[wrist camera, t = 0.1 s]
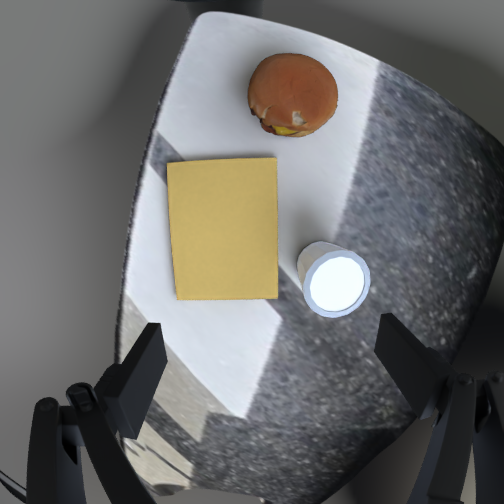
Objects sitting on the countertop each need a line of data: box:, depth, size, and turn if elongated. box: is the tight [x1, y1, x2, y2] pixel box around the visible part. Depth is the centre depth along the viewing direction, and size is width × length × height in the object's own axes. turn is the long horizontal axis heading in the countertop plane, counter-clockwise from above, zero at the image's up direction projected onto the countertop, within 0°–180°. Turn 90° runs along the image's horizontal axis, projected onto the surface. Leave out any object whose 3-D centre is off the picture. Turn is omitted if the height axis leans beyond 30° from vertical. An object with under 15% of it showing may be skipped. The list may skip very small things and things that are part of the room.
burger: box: [248, 53, 338, 137], centre depth 25 cm, size 10×9×5 cm
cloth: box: [167, 158, 278, 300], centre depth 31 cm, size 16×12×1 cm
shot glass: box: [297, 241, 370, 318], centre depth 29 cm, size 7×7×7 cm
